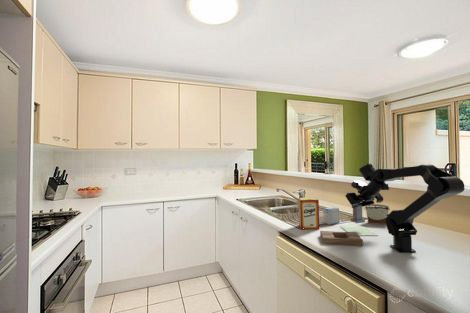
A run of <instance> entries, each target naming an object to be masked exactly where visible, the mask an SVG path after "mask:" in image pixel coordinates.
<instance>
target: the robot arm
mask: <svg viewBox="0 0 470 313" xmlns="http://www.w3.org/2000/svg"><path fill="white" fill-rule="evenodd" d="M358 171H359V173H360V175H361V176H362V177H363V179H364V180H365V181H366V182H368V184H367V183H365V182H364V181H362V180H353V181H352V182H351V184H350V185H351V187H352V188H353V189H356V190H357V193H358V194H356V192H347V193H345V198H346V199H347V201H348V203H349V204H350V205H351V209H353V208H356V207H358V206H361V205H362V208H363V207H364V208H365V206H367V205H371V204H375V202H376V204H380V203H381V204H382V202H383V201H384V197H383V196H382V195H381V193H380V192H381V191H389V190H390V187H389V183H386V182H394V181H398V180H399V179H401V178H402V179H403V178H409V177H410V178H411V177H418V176H419V177H421V178H422V179H423V182H424V183H425V184H426V185H427V187H426V192H424V193H423V194H422V195H421V196H419V197H418V198H417V199H415V200H414V201H412V202H411V203H410V204H409V205H407V206H406V207H405V208H404V209H395V210H394V209H392V210H391V211H390V212H389V213H388V215H387V217H386V219H385V220H386V224H385V225H386V228H387V232H388V234H389V235H391V236H392V240H393V242H392V243H393V244H389V247H390V248H392V249H394V250H395V251H396V252H398V253H417V251H416V250H415V249H413V248H412V247H413V246H412V243H413V242H412V241H413V240H412V236H416V235H417V234H418V229H417V228H416V227H415V225H413V224H414V220H415V219H416V218H417V217H419V216H420V215H421V214H423V213H425V212H426V211H427V210H429V209H430V208H432V207H433V206H435V205H436V204H437V203H438V202H440V201H442V200H446V199H448V198H452V197H455V196H457V195H459V194H461V193H463V192H464V191H465V189H466V187H465V183H464V181H463V180H462V179H461V178H459V177H458V176H454V175H453V174H451V173H449V172H447V171H444V170H443V169H440V168H438V167H437V166H435V165H434V164H430V163H429V164H426V163H425V164H420V165H414V166H407V167H401V168H393V167H392V168H390V167H389V168H387V167H386V168H377V169H375V167H374V166H373V164H372V163H366V165H362V166H361V167H360V168H359V170H358ZM375 199H376V201H375ZM374 201H375V202H374ZM361 202H362V203H361Z"/></svg>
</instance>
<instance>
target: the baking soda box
mask: <svg viewBox="0 0 470 313" xmlns="http://www.w3.org/2000/svg"><path fill="white" fill-rule="evenodd" d="M297 202H298V206H297V207H298V209H297V210H298V227H299V226H300V227H299V229H301V230H320V204H319V199H318V198H316V197H298V198H297ZM303 228H304V229H303Z"/></svg>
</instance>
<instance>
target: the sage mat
mask: <svg viewBox="0 0 470 313" xmlns="http://www.w3.org/2000/svg"><path fill="white" fill-rule="evenodd" d="M340 228H341V229H342V230H343V231H344V232H355V233H357V234H358V235H359V236H360V237H379V235H378V234H376V233H375V232H374V231H372V230H370V229H368V228H367V227H365V226H363V225H362V226H361V225H360V226H359V225H358V226H356V225H355V226H353V225H352V226H350V225H349V226H345V225H344V226H340Z"/></svg>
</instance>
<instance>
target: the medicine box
mask: <svg viewBox="0 0 470 313" xmlns="http://www.w3.org/2000/svg"><path fill="white" fill-rule="evenodd" d="M322 213H323V215H322V218H323V223H324V224H326V223H327V225H335V224H338V223H340V208H338V207H337V206H329V207H323V209H322Z"/></svg>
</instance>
